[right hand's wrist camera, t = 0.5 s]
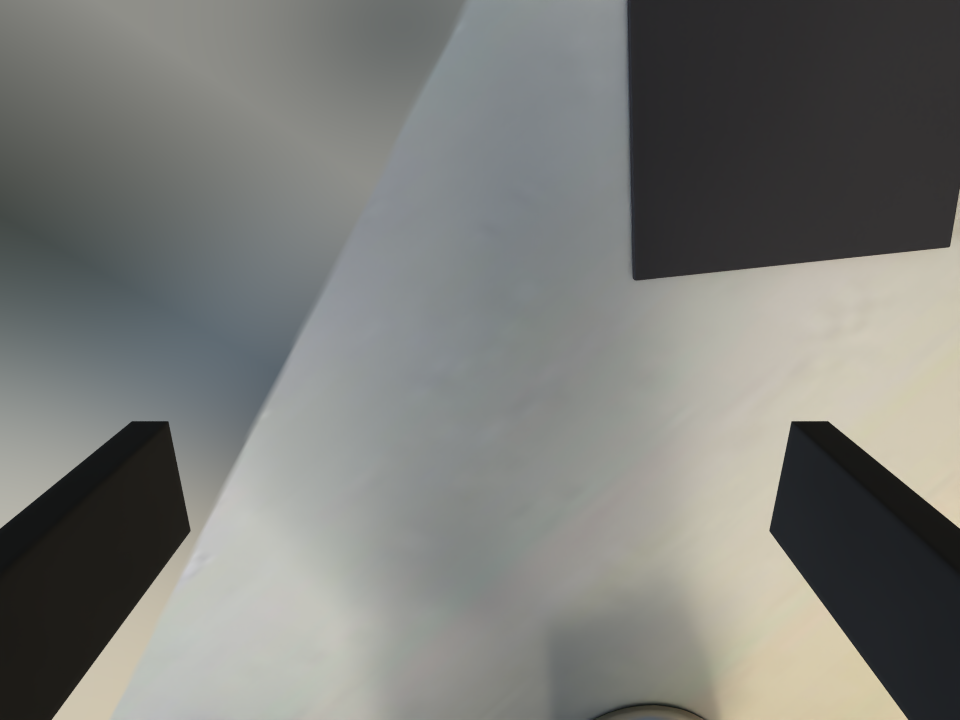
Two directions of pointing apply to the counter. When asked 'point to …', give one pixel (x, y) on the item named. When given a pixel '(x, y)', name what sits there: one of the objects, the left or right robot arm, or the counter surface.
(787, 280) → the counter surface
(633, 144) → the coaster
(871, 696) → the counter surface
